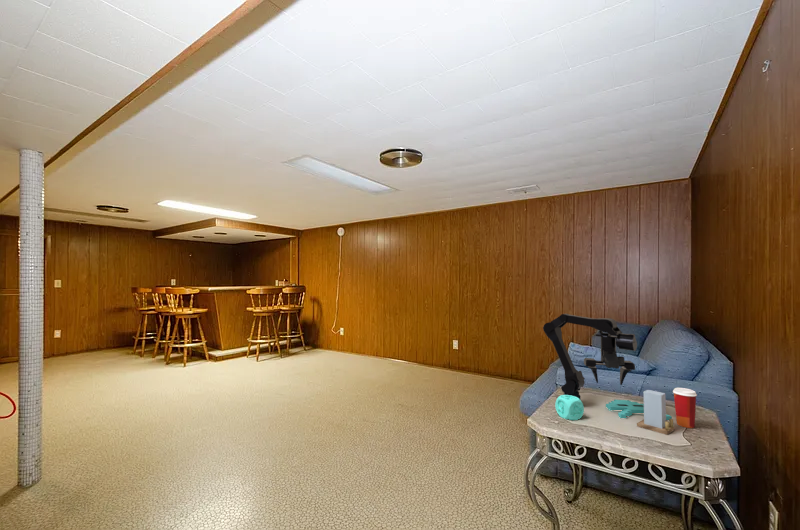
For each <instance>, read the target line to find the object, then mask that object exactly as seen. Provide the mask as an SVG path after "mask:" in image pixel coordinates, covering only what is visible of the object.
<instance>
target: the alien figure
mask: <svg viewBox="0 0 800 530" xmlns="http://www.w3.org/2000/svg"><path fill="white" fill-rule="evenodd" d="M606 407H607V408H608V409H607V408H606ZM605 408H606V409H607V410H609V409H610V410H622V411H617V415H618V416H619V417H620V419H621V418H627V417H626V416H629V417H630V416H633V414H632V413H644V403H639V402H637V401H631V400H629V399H613V400H610V401H608V403H605ZM610 410H609V411H610ZM618 416H617V417H618ZM619 417H618V418H619ZM669 419H673V416H671V415H670V414H667V413H666V420H669Z"/></svg>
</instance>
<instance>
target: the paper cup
mask: <svg viewBox="0 0 800 530" xmlns="http://www.w3.org/2000/svg"><path fill="white" fill-rule="evenodd" d="M672 393H673V399H674V401H673V402H674V410H675V419H676V424H677V425H678V427H682V428H685V429H695V424H696V412H697V411H696V409H697V408H696V405H697V404H696V403H697V396H698V394H697V393H696V391H694V390H693V389H691V388H684V387H675V388H674V389H673V390H672Z"/></svg>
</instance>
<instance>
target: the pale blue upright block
mask: <svg viewBox="0 0 800 530" xmlns="http://www.w3.org/2000/svg"><path fill="white" fill-rule="evenodd" d="M642 393H643V404H644V414H643V419H644V424H647V425H651V426H654V427H658V428H661V429H663V428H664V427H665V421H666V414H667V407H666V406H667V401H666V393H665V392H661V391H656V390H651V389H646V390H644V391H643V392H642Z"/></svg>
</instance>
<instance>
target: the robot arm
mask: <svg viewBox="0 0 800 530" xmlns="http://www.w3.org/2000/svg"><path fill="white" fill-rule="evenodd" d="M566 324H573V325H579V326H584V327H589V328H590V327H591V328H593V329H595V330H597V331H598V332H597V333H596V334H595V337H600V360H596V359H595V358H592V357H585V358H583V364H584V366H585V367H587V368H588V369H590V370H591V372H592V375H593V378H594V380H595V382H596V384H598V383H599V379H598V378H599V377H598V371H597V370H598V368H597V367H596V366H605V367H606V368H607V369H618V370H619V383H620V386H622V385H623V383H624V381H625V379H626V376H627V374H628V373H630V372H632V371H635V370H636V365H635V363H634V362H632V361H631V360H625V357H624V356H623V355H622V356H620V355H619V356H618V355H617V348H618V349H619V350H626V351H633V352H636V351H637V349H638V341H637V338H636V335H635V334H634V333H623V332H622V331H621V329H620V328H619V326H618V324H617V321H615V319H613V318H611V317H610V318H607V317H606V318H603V317H602V318H601V317H600V318H599V317H598V318H593V317H587V316H580V315H575V314H569V313H562V314H560V315H559V316H558V317H556V318H555V319H553V320H551V321H549V322H546V323H544V325H543V326H542V330H543V332H544V333H545V336H546V337H547V338H548V340H550V341H551V342H552V344H553V346H554V349H555V351H556V353H557V356H558V359H559V361H560V363H561V366H562V367H563V370H564V380H565V383H564V384H563V385H561V386H560V389H561V391H562V393H563V395H571V396H575V397H578V398H579V399H580V400H581V395H580V392H579V391H581V388H583V387H584V385H585V382H586V381H585V380H586V378H585V377H584V375H583V372H582V370H579V371H578V370H577V368H575V366H574V363H573V360H572V359H571V356H570V354H569V352H568V349H567V348H566V345H565V342H564V340H563V332H562V328H563V327H565V325H566ZM581 401H582V400H581Z"/></svg>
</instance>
